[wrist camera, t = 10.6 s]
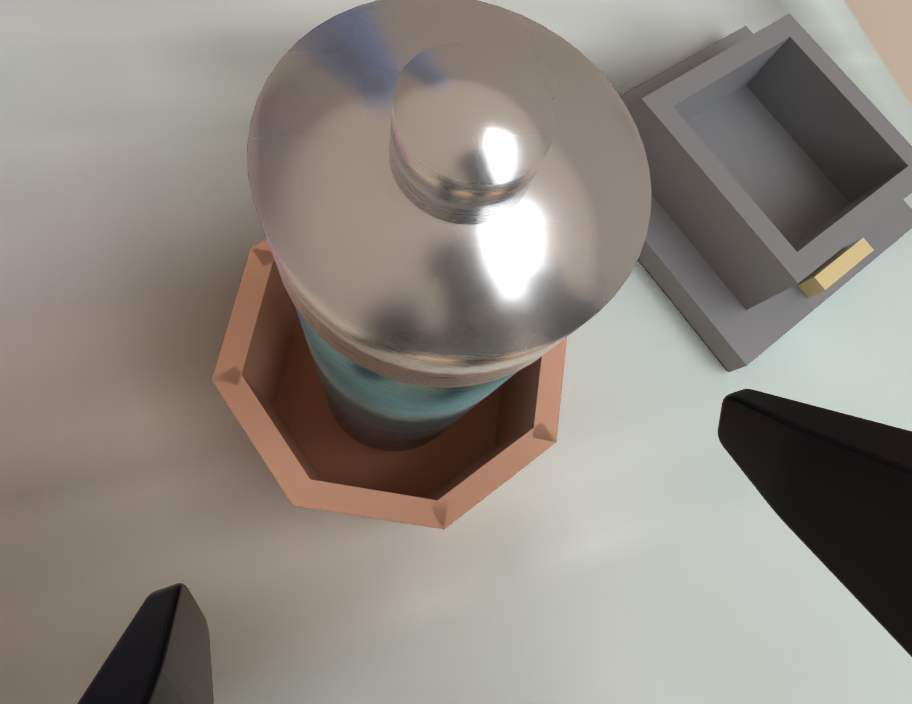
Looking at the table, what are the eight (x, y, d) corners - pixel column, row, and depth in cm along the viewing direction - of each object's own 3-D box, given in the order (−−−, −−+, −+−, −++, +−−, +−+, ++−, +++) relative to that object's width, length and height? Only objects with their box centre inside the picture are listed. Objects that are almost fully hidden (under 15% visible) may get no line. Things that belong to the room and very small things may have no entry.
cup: (560, 417, 19) (626, 387, 14) (358, 571, 16) (353, 599, 12) (423, 232, 20) (441, 146, 15) (215, 353, 17) (157, 296, 13)
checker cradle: (898, 231, 23) (988, 185, 20) (728, 371, 20) (800, 345, 17) (731, 44, 25) (787, -28, 21) (549, 148, 22) (582, 83, 18)
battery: (487, 356, 18) (744, 65, 6) (424, 478, 17) (594, 426, 5) (368, 292, 18) (382, -140, 6) (295, 410, 17) (119, 169, 4)
